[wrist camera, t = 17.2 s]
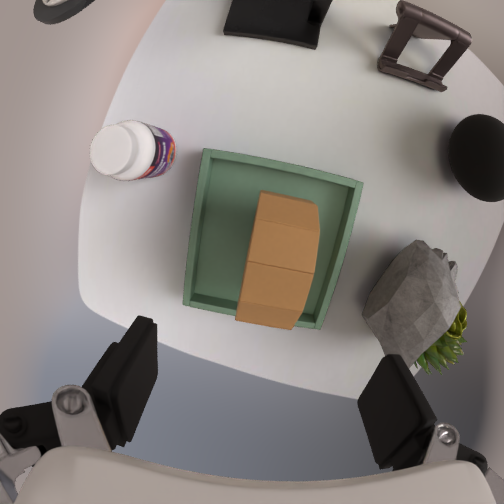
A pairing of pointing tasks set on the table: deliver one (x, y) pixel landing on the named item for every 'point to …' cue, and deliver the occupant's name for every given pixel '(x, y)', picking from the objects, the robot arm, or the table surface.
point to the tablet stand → (423, 27)
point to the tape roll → (279, 261)
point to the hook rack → (278, 20)
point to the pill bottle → (132, 151)
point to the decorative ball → (479, 156)
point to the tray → (241, 222)
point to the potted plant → (418, 308)
